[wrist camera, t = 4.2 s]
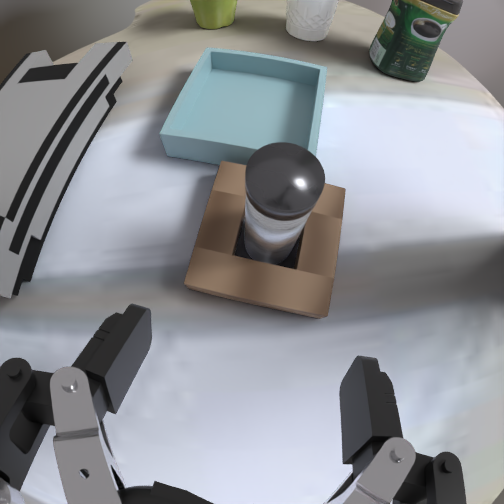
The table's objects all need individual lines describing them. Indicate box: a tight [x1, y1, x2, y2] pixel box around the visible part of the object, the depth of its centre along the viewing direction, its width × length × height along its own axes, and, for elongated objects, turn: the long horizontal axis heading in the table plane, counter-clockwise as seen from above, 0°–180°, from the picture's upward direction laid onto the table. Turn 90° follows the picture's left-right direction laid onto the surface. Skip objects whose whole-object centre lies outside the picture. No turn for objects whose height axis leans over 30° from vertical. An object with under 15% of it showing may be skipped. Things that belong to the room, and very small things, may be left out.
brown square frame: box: [184, 161, 345, 319], centre depth 27 cm, size 12×12×2 cm
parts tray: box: [159, 48, 327, 165], centre depth 31 cm, size 15×15×4 cm
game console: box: [0, 42, 132, 299], centre depth 27 cm, size 21×32×8 cm, turn 165°
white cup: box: [286, 0, 339, 41], centre depth 34 cm, size 8×8×10 cm
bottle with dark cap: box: [244, 142, 325, 265], centre depth 23 cm, size 5×5×12 cm
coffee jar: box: [369, 0, 463, 82], centre depth 29 cm, size 10×8×19 cm
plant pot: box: [190, 0, 237, 29], centre depth 35 cm, size 9×9×9 cm
